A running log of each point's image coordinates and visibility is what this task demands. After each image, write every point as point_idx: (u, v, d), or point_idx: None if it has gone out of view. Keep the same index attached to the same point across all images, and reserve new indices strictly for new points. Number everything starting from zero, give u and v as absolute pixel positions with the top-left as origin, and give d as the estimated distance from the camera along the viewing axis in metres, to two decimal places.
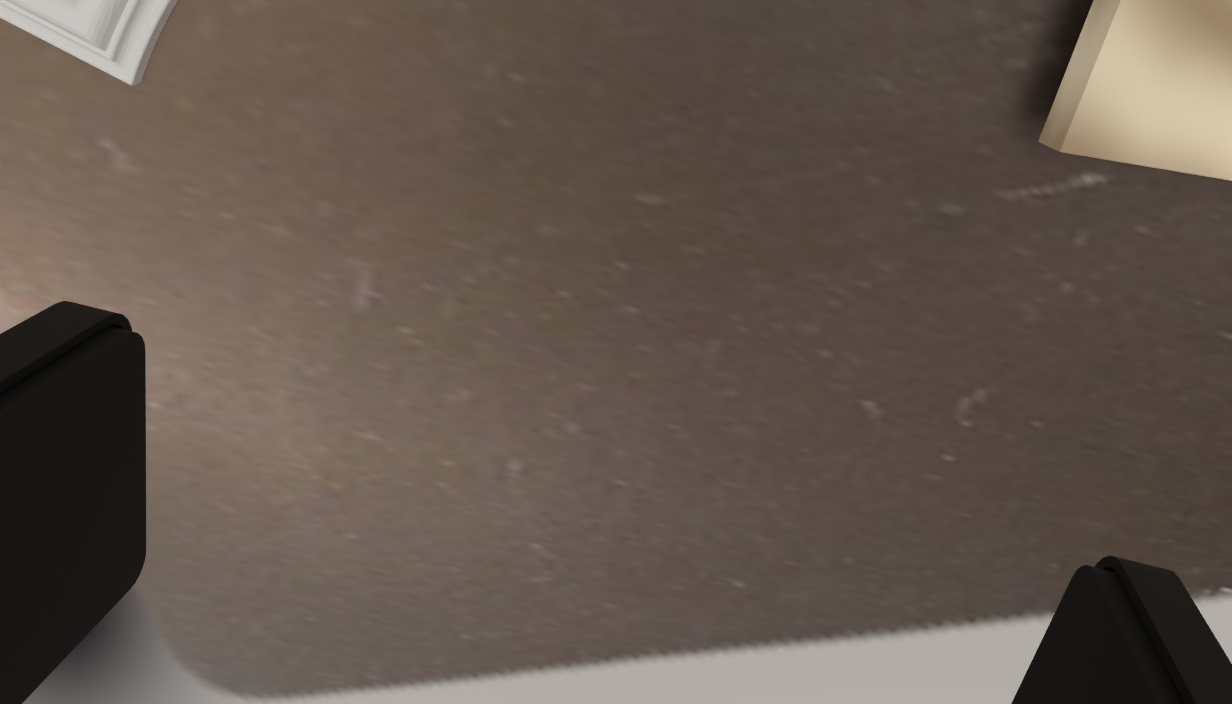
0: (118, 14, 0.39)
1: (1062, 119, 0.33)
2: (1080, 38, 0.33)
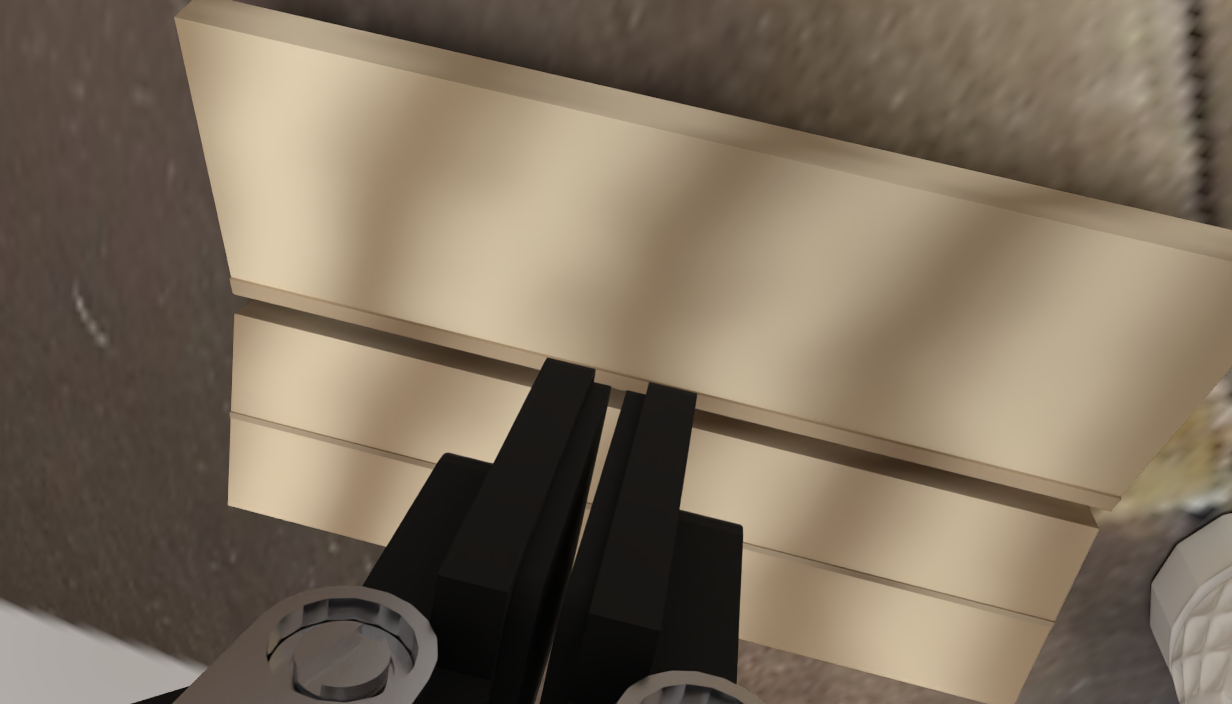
0: None
1: (223, 16, 0.24)
2: (335, 26, 0.24)
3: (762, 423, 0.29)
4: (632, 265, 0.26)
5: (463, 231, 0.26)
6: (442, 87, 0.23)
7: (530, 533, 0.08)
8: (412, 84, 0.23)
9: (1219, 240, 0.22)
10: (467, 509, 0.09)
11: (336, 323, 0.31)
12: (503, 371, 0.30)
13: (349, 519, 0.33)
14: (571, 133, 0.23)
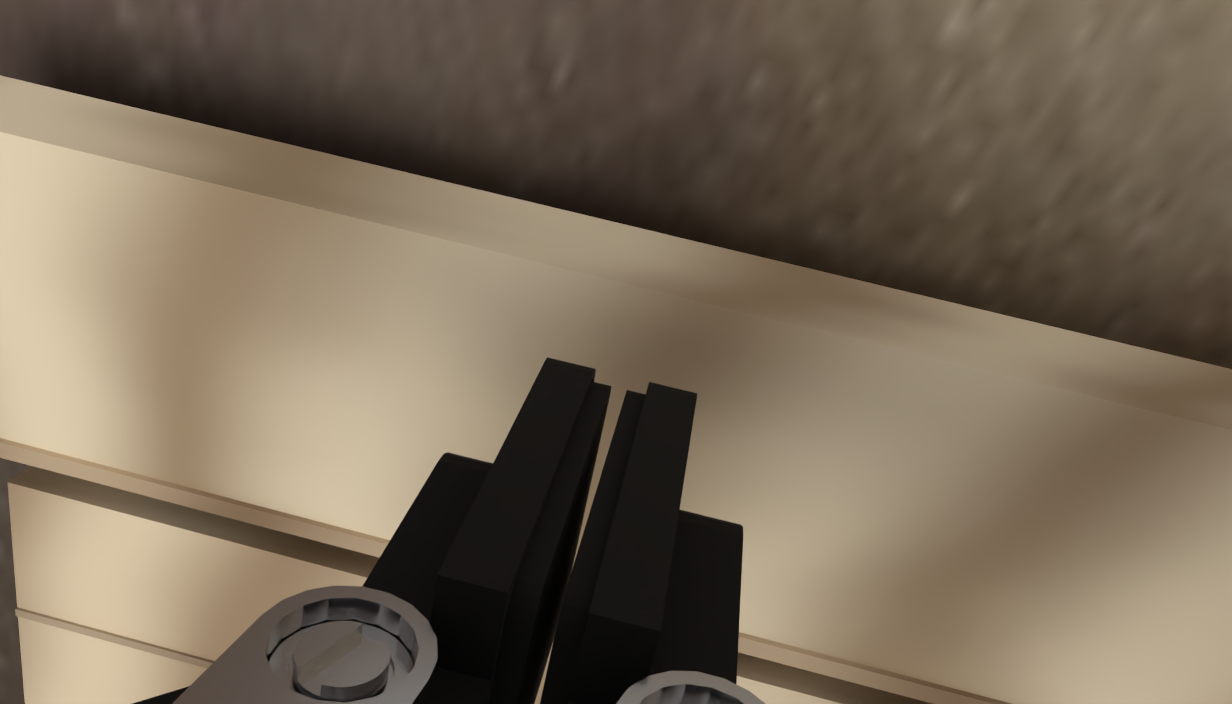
0: None
1: None
2: (71, 96, 0.15)
3: (755, 653, 0.20)
4: None
5: (300, 398, 0.17)
6: (230, 199, 0.14)
7: (530, 533, 0.08)
8: (184, 193, 0.14)
9: None
10: (467, 509, 0.09)
11: None
12: None
13: None
14: (441, 273, 0.14)
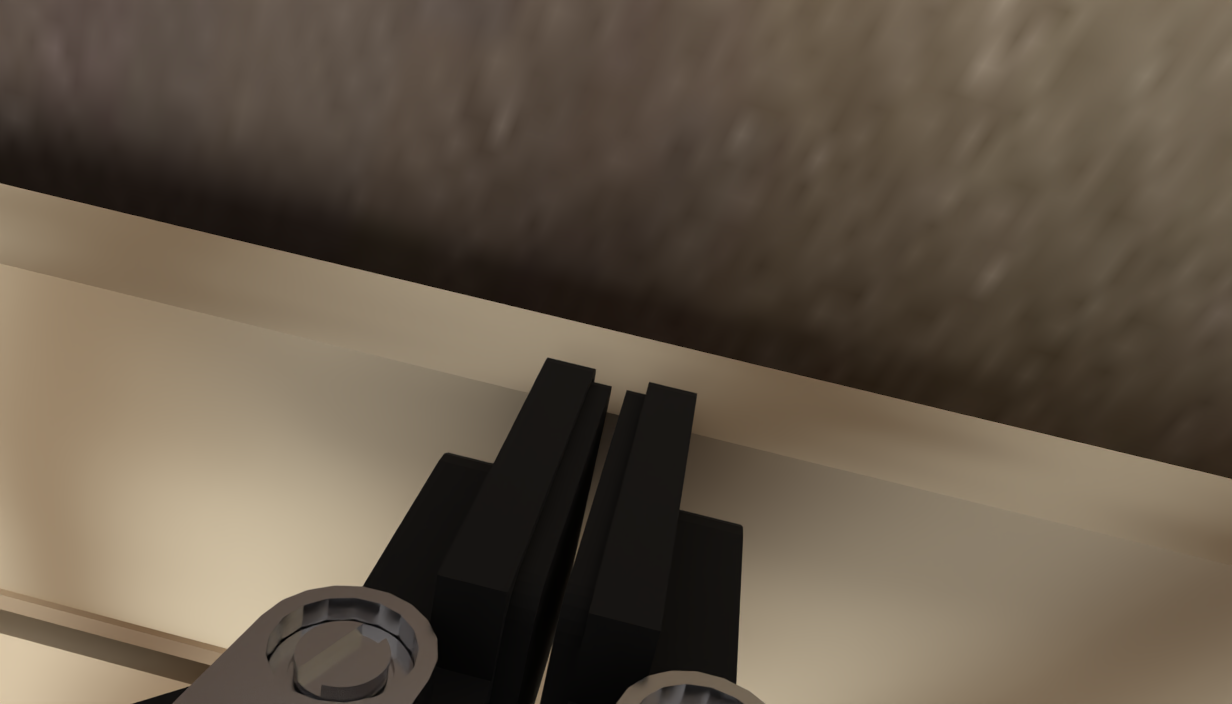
0: None
1: None
2: None
3: None
4: None
5: (185, 519, 0.14)
6: (68, 294, 0.11)
7: (530, 533, 0.08)
8: (9, 285, 0.11)
9: None
10: (467, 509, 0.09)
11: None
12: None
13: None
14: (340, 386, 0.11)
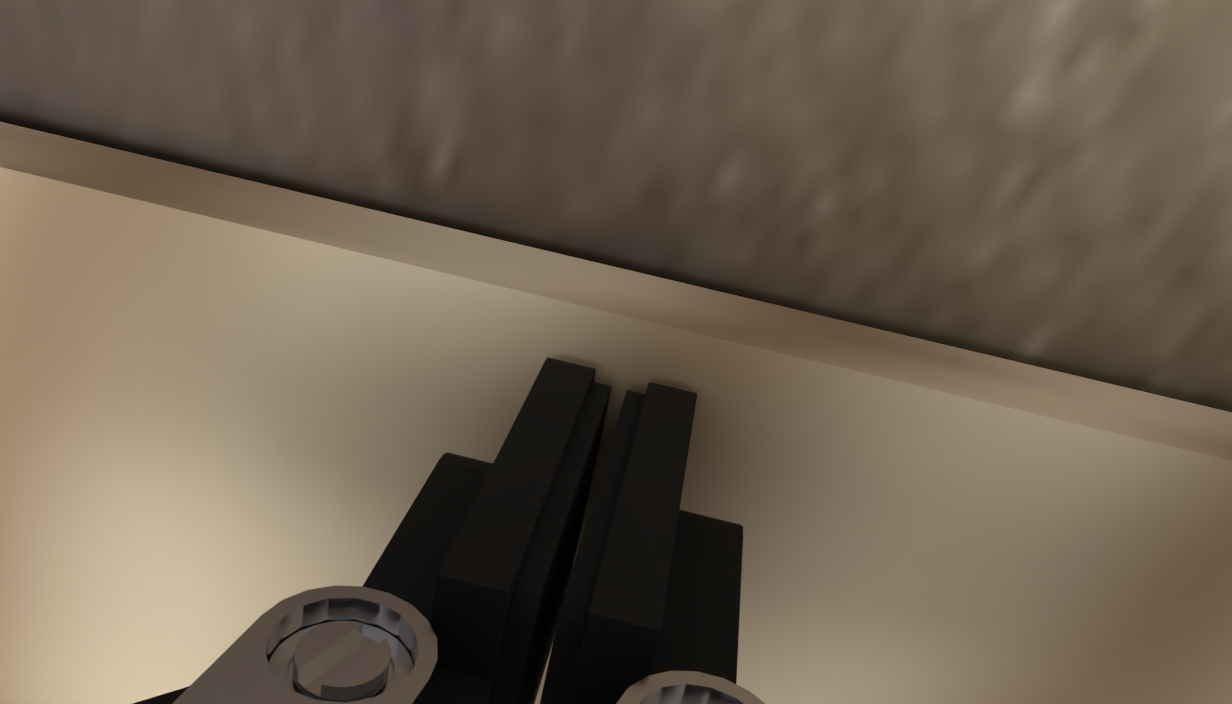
0: None
1: None
2: None
3: None
4: None
5: (124, 527, 0.13)
6: (60, 201, 0.11)
7: (529, 533, 0.08)
8: None
9: None
10: (466, 509, 0.09)
11: None
12: None
13: None
14: (338, 305, 0.11)
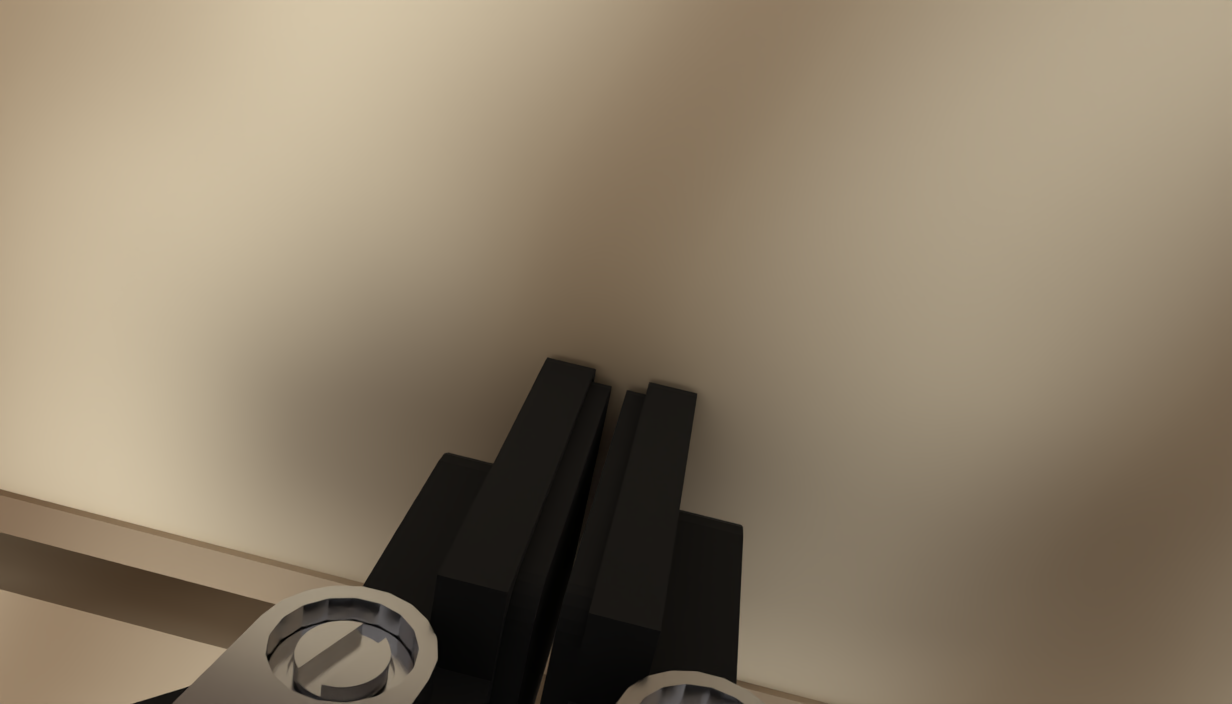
0: None
1: None
2: None
3: None
4: (507, 306, 0.10)
5: (94, 227, 0.11)
6: None
7: (530, 533, 0.08)
8: None
9: None
10: (467, 509, 0.09)
11: None
12: (228, 616, 0.14)
13: None
14: None
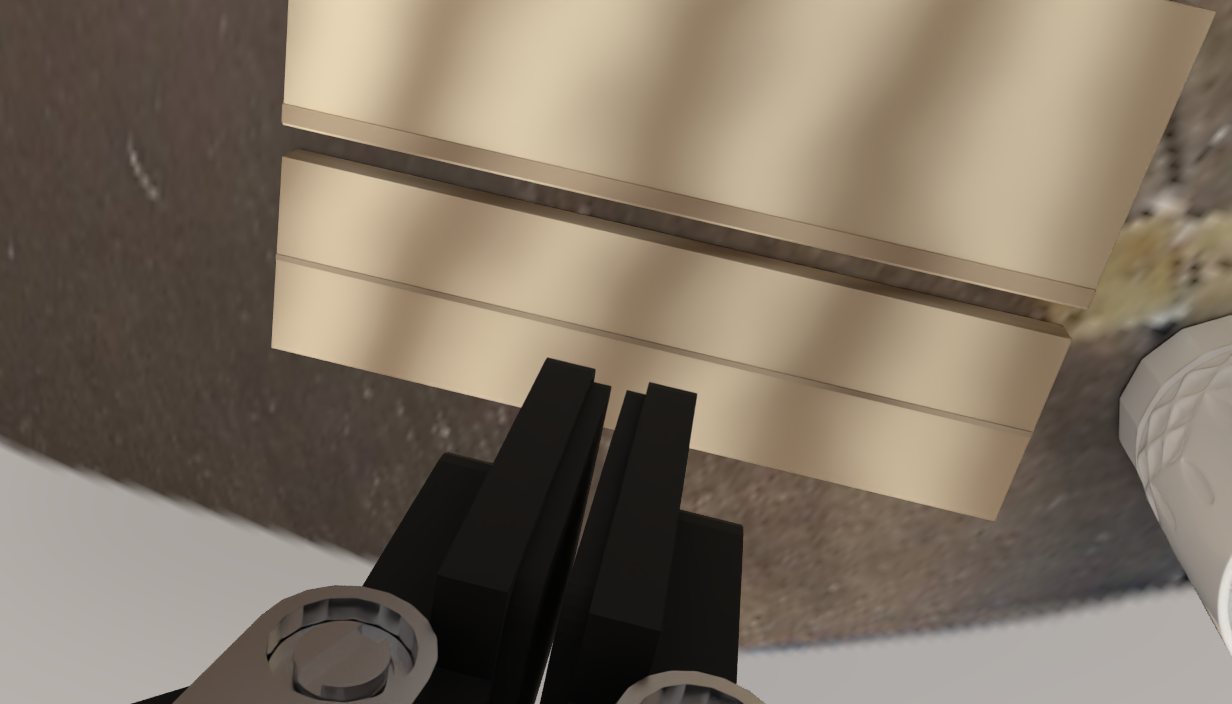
0: None
1: None
2: None
3: (771, 234, 0.32)
4: (664, 51, 0.30)
5: (515, 26, 0.30)
6: None
7: (530, 533, 0.08)
8: None
9: None
10: (467, 509, 0.09)
11: (375, 168, 0.34)
12: (530, 208, 0.33)
13: (385, 357, 0.35)
14: None
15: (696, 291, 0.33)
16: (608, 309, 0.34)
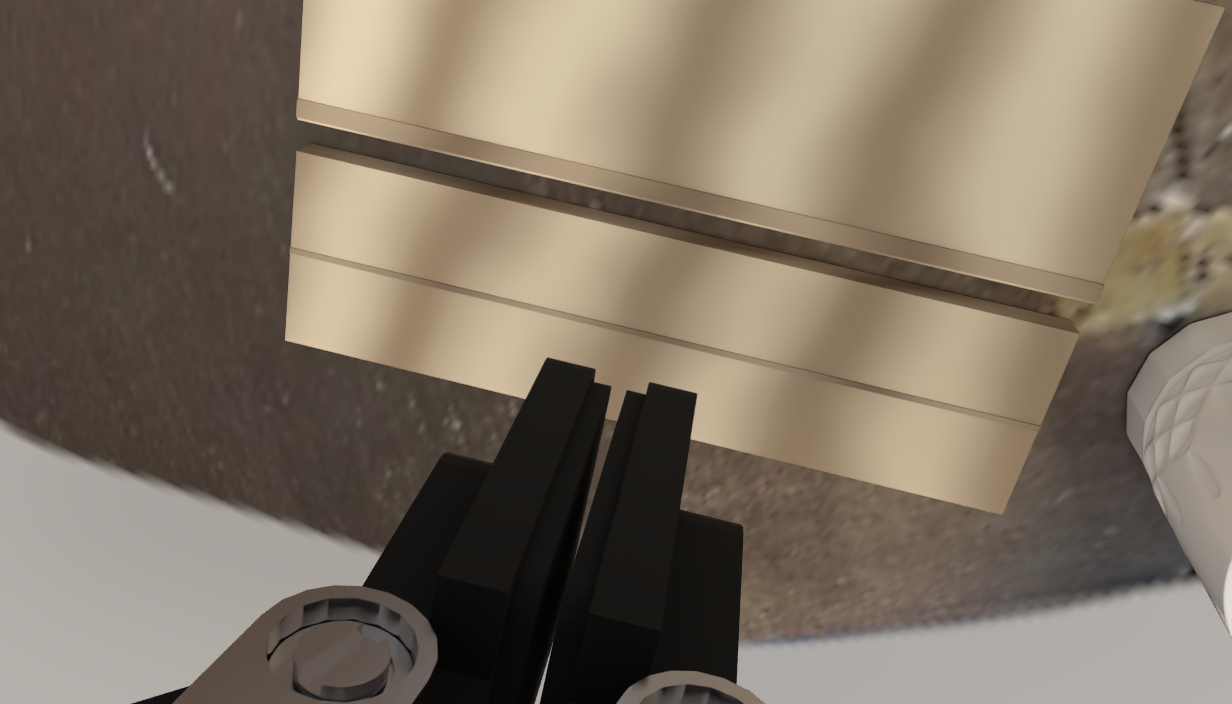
0: None
1: None
2: None
3: (781, 228, 0.32)
4: (675, 46, 0.30)
5: (528, 22, 0.30)
6: None
7: (530, 533, 0.08)
8: None
9: None
10: (467, 509, 0.09)
11: (388, 163, 0.34)
12: (542, 203, 0.33)
13: (398, 350, 0.36)
14: None
15: (706, 284, 0.33)
16: (619, 303, 0.34)
